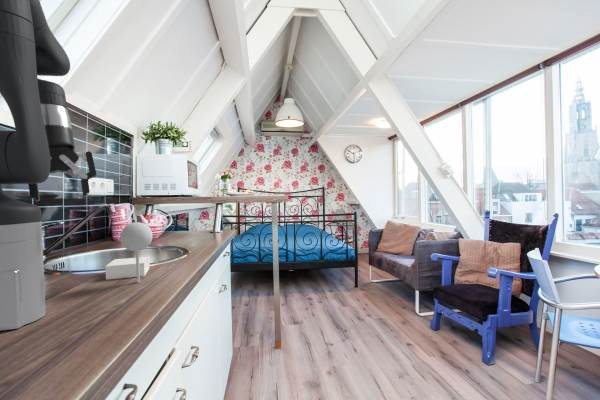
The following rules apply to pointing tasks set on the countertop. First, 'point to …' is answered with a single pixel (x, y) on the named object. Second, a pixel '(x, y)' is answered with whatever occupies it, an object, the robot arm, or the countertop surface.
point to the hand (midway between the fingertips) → (62, 198)
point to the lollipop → (136, 240)
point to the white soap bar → (126, 268)
